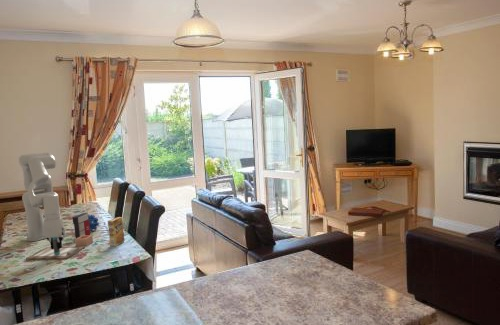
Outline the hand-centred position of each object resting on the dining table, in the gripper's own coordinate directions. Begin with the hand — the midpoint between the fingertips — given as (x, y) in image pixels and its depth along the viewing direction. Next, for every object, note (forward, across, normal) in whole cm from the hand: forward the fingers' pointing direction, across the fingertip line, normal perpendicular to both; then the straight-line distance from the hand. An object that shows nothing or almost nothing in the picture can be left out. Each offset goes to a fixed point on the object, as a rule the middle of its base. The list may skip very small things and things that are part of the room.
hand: (56, 248), depth 213 cm
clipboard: (+5, -3, +4) cm, 7 cm away
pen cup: (+5, +5, +20) cm, 21 cm away
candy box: (+5, +26, +20) cm, 33 cm away
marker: (+3, 0, 0) cm, 3 cm away
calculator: (+5, -4, +34) cm, 35 cm away
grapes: (+5, -6, +48) cm, 49 cm away
